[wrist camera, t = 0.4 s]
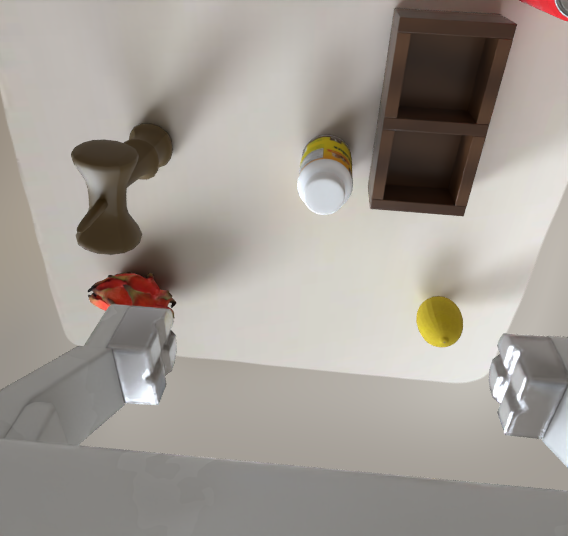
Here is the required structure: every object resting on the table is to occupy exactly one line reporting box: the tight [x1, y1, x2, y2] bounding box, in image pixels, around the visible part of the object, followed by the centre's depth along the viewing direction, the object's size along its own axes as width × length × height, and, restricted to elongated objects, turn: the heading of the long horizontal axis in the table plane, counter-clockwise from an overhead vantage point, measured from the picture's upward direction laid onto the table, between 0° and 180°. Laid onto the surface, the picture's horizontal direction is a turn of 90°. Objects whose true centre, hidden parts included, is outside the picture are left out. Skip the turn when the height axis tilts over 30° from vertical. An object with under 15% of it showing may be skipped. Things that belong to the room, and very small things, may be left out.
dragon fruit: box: [88, 272, 176, 320], centre depth 67 cm, size 8×8×12 cm
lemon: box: [417, 296, 463, 347], centre depth 63 cm, size 6×6×8 cm
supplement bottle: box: [297, 135, 353, 215], centre depth 53 cm, size 6×6×10 cm
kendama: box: [71, 124, 173, 255], centre depth 50 cm, size 6×10×20 cm, turn 171°
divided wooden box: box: [368, 8, 517, 216], centre depth 50 cm, size 19×10×6 cm, turn 178°
